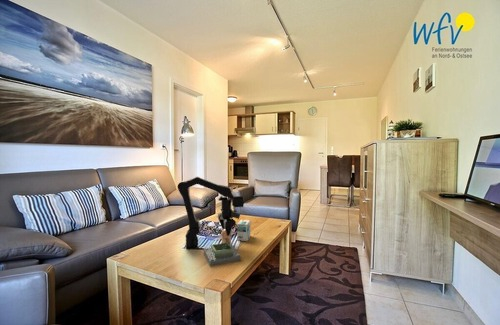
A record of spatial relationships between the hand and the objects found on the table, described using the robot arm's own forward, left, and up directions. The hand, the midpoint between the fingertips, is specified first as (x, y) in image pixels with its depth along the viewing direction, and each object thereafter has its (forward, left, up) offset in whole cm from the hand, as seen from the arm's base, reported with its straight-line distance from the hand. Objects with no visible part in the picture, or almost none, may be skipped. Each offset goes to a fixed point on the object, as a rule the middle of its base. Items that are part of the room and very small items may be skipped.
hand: (226, 233), depth 142 cm
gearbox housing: (-7, -15, -7) cm, 18 cm away
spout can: (0, 0, -7) cm, 7 cm away
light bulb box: (+14, +7, -8) cm, 17 cm away
